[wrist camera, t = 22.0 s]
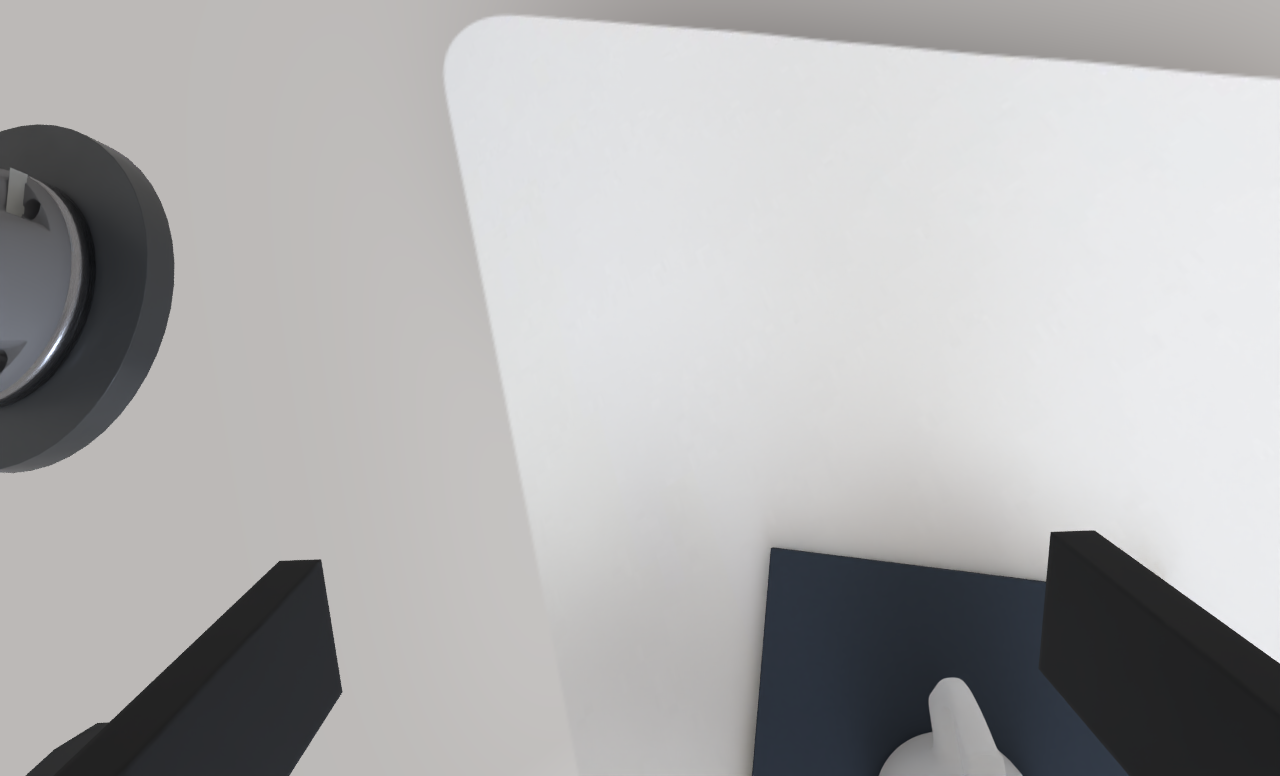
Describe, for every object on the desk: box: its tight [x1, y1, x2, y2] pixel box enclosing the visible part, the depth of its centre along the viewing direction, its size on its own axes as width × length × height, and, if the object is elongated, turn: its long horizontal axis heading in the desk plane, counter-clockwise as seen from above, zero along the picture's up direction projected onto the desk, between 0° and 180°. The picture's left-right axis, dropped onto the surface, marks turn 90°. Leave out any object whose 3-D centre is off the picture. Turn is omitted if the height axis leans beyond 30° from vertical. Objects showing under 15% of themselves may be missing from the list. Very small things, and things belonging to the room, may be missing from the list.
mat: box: [752, 548, 1129, 776], centre depth 31 cm, size 16×16×1 cm
